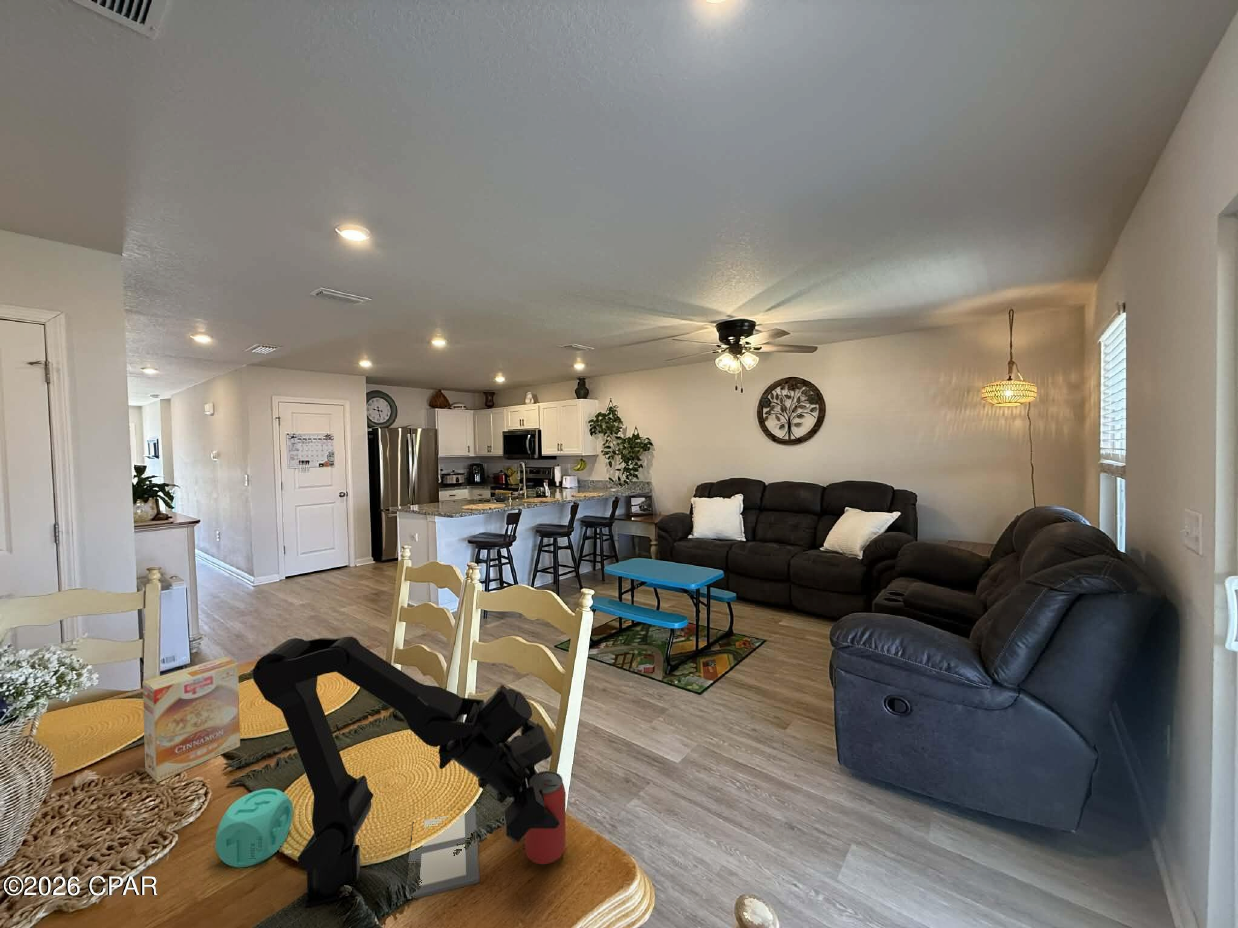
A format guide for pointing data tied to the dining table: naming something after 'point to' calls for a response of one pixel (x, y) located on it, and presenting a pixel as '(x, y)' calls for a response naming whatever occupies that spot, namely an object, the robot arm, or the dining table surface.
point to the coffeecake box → (190, 717)
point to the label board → (448, 857)
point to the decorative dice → (254, 827)
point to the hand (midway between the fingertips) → (553, 810)
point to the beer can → (551, 842)
